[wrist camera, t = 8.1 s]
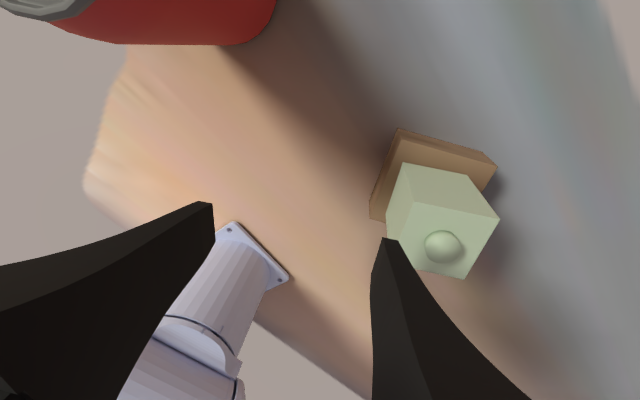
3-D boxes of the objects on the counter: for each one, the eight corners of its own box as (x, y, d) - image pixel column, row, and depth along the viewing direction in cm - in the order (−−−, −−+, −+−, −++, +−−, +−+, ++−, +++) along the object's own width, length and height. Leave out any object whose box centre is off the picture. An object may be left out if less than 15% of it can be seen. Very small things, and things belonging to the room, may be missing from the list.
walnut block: (440, 218, 22) (450, 241, 19) (369, 198, 22) (369, 218, 20) (480, 150, 19) (497, 166, 16) (397, 126, 19) (401, 139, 17)
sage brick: (442, 226, 19) (467, 288, 14) (385, 214, 19) (390, 271, 14) (466, 174, 17) (505, 227, 12) (402, 162, 17) (415, 207, 12)
